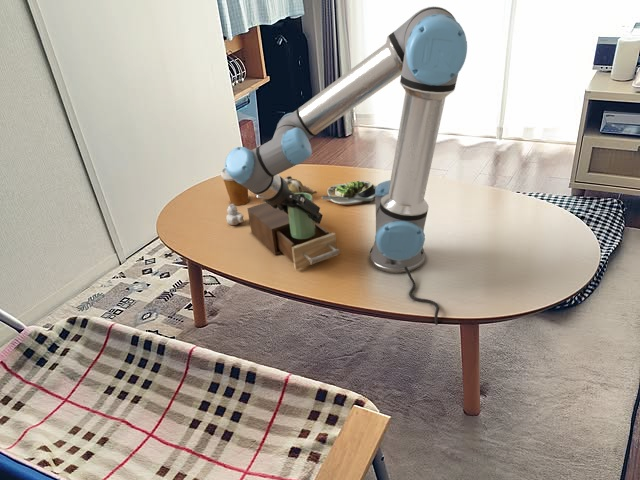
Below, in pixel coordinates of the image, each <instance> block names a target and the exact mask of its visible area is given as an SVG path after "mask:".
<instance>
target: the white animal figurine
mask: <svg viewBox="0 0 640 480" xmlns="http://www.w3.org/2000/svg"><path fill="white" fill-rule="evenodd" d="M226 212H227V214H226V216H225V217H226V218H225V219H226V223H227V224H228V225H231V226H237V225H239V224H241V223H243V222H244V215H243V214H242V213H241V212H238V207H237V205H234V204H231V202H229V205H228V206H227V209H226Z"/></svg>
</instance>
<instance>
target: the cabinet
mask: <svg viewBox="0 0 640 480" xmlns="http://www.w3.org/2000/svg"><path fill="white" fill-rule="evenodd" d="M246 210H247V213H248V215H247V216H248V220H249V224H250V231H251V234H252V235H253V236H254V237H255V238H256V239H257V240H258V241H259V242H261V244H262V245H264V246H265V247H266V248H267V249H268V250H269V251H270V252H271V253H272V254H273V255H274V256H278V255H281V254H283V253H282V252H281V251H279V250H278V249H277V244H276V237H275V231H276V230H279V229H282V228H285V227H288V226H290V224H289V216H288V214H287V213H285V212H284V210H280V209H279V208H278V207H277V209H274V208H273V207H272V206H271V205H269V204H267V203H266V202H263V203H260V204H256V205H253V206H250V207H247V209H246Z"/></svg>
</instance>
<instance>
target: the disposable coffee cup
mask: <svg viewBox="0 0 640 480" xmlns="http://www.w3.org/2000/svg"><path fill="white" fill-rule="evenodd" d="M220 176H221V178H222V179H223V182H224V185H225V189H226V192H227V195H228V198H229V202H230V203H231V204H234V205H235V206H242V205H245V204H247V203H248V202H249V189H247V188H246V187H244V186H242V185H241V184H239V183H237V182H236V181H235V180H234V179H233V178H232V177H231V176H230V175H229V174H228V173H227V171H226V169H225V167H223V168H222V169H221V174H220Z"/></svg>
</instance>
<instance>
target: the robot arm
mask: <svg viewBox="0 0 640 480" xmlns="http://www.w3.org/2000/svg"><path fill="white" fill-rule="evenodd" d="M467 53H468V41H467V36H466V33H465V31H464V29H463V27H462V25H461V24H460V22H458V21H457V20H456V18H455V16H454V15H453V14H452V13H451V12H450V11H449V10H447V9H446V8H443V7H440V6H428V7H425V8H422V9H420V10H418V11H417V12H415V13H414V14H413V15H412V16H410V18H408V19H407V20H406V21H405V22H404V23H402V24H401V25H400V26H399V27H397V28H396V29H395V30H394V31H392V32H391V33H390V34H388V35H387V37H386V42H385V43H384V44H383V45H382V46H381V47H379V48H377V49H376V50H375V51H374V52H372V53H371V54H370V55H368V56H367V57H366V58H364V59H363V60H362V61H360V62H359V63H357V64H356V65H355V66H354V67H352V68H351V69H349V70H348V71H347V72H345V73H344V74H342V75H341V76H340V77H338V78H337V79H335V80H334V81H333V82H332V83H330V84H329V85H327V86H326V87H325V88H323V90H321V91H319V92H318V93H317V94H316V95H314V96H313V97H312V98H310V99H309V100H308V101H306V102H305V103H304V104H303V105H301V106H299V107H298V108H297V109H296V110H294V111H293V112H288V113H286V114H284V115H283V116H282V117H281V118H280V119H279V121H278V123H277V125H276V129H275V131H274V134H273V137H272V138H271V140H269V141H267V142H265V143H263V144H262V145H259V146H257V147H255V148H253V149H249V148H247V147H245V146H238V147H235V148H233V149H231V151H229V153H228V154H227V155H226V157H225V161H224V168H225V169H226V171H227V173H228V174H229V175H230V176H231V177H232V178H233V179H234V180H235V181H236V182H237V183H239V184H241V185H242V186H244V187H246V188H247V189H248V191H249V192H250V193H252V194H254V195H255V196H256V199H257V200H260V199H261V200H262V202H263V203H267V204H269V205H271V206H272V207H273V208H274V209H277V207H278V208H279V209H280V210H284V212H285V213H287V214H288V209H287V206H289V207H291V208H297V209H299V210H301V211H302V212H304V213H306V214H308V216H309V218H310V219H312V220H314V221H315V222H316V223H317V224H318V225H320V224H321V222H322V219H323V213H321V212H320V211H321V207H320V206H319V205H317V204H316V203H314V201H313V202H311V201H310V200H309V199H307V198H306V197H305V196H304V195H303V194H300V195H299V197H298V195H296V194H294V193H292V192H291V191H290V190H289V188H288V184H287V182H286V181H285V180H284V179H285V178H284V177H282V176H280V175H279V174H282V173H283V172H285V171H287V170H289V169H291V168H293V167H295V166H298V165H301V164H302V163H303V162H305V161H307V160H308V159H309V158H310V157H311V156H312V153H313V150H312V144H311V142H310V140H311V139H312V138H314V137H315V136H317V135H318V134H319V133H321V132H322V131H324V130H325V129H326V128H328V127H329V126H330V125H332V124H334V123H335V122H336V121H338V120H339V119H341V118H342V117H344V116H345V115H346V114H347V113H349V112H351V111H352V110H353V109H355V108H357V106H359V105H360V104H362V103H363V102H365V101H367V99H369V98H371V97H372V96H373V95H375V94H376V93H378V92H379V91H381V90H382V89H383V88H385V87H386V86H388V85H389V84H391V83H392V82H393V81H395V80H396V79H398V78H399V77H400V80H399V83H400V85H401V86H402V88H403V90H404V91H405V93H404V97H403V98H404V99H403V105H402V111H401V117H400V123H399V127H398V134H397V140H396V146H395V152H394V159H393V164H392V169H391V170H392V171H391V176H390V180H385V181H382V182H380V183H378V184H377V185H376V187H375V200H374V201H375V236H374V242H373V245H372V247H371V248H370V251H369V254H370V263H371V264H372V266H373V267H374V268H376V269H377V270H380V271H382V272H385V273H391V274H404V273H406V274H407V276H408V278H409V280H410V281H411V284H412V287H411V289H410V291H409V294H408V295H409V298H411V299H412V300H413V301H416V302H422V303H428V304H431V305H433V306H434V307H435V313H434V325H435V326H438V325H439V321H438V319H439V317H438V316H439V312H440V306H439V304H438V303H437V302H436V301H434V300H432V299H428V298H419V297H416V296H414V295H413V293H414V291H415V290H416V286H417V283H416V281H415V280H414V278H413V276H412V274H411V273H410V272H412V271H415V270H417V269H419V268H420V267H421V266H422V265H423V264H424V263H425V257H426V254H425V249H424V245H425V241H426V237H425V236H426V235H425V226H426V222H427V216H428V212H429V203H428V202H427V201H426V199H425V196H426V191H427V187H428V182H429V177H430V171H431V168H432V164H433V157H434V153H435V149H436V144H437V139H438V135H439V130H440V125H441V121H442V116H443V110H444V107H445V103H446V98H447V97H448V96H449V95H451V94H452V93H453V92H455V89H456V85H457V81H458V76H459V73H460V71H461V70H462V68H463V67H464V64H465V61H466V58H467ZM283 178H284V179H283Z"/></svg>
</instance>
